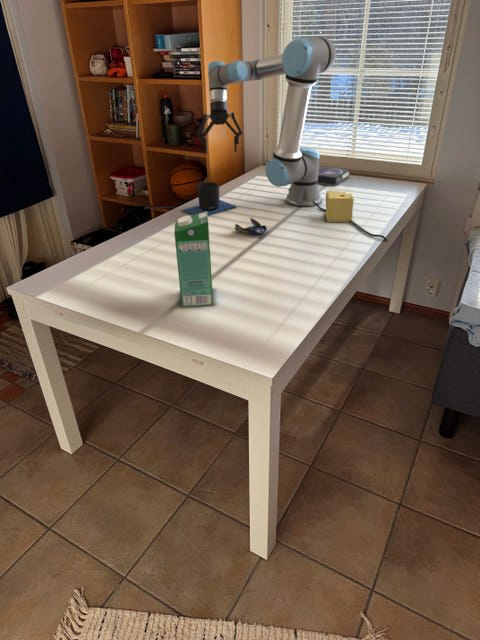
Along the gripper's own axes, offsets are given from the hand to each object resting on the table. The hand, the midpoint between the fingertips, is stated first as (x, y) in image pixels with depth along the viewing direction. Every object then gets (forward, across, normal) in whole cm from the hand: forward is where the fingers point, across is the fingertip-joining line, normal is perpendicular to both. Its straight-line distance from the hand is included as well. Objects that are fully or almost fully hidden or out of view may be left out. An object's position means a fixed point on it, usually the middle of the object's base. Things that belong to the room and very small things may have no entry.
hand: (220, 153), depth 212 cm
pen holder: (+24, +5, +13) cm, 27 cm away
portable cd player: (+13, -50, -33) cm, 61 cm away
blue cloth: (+24, +5, +13) cm, 28 cm away
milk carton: (+47, -2, +89) cm, 101 cm away
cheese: (+29, -50, +22) cm, 62 cm away
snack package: (+33, -16, +39) cm, 53 cm away
